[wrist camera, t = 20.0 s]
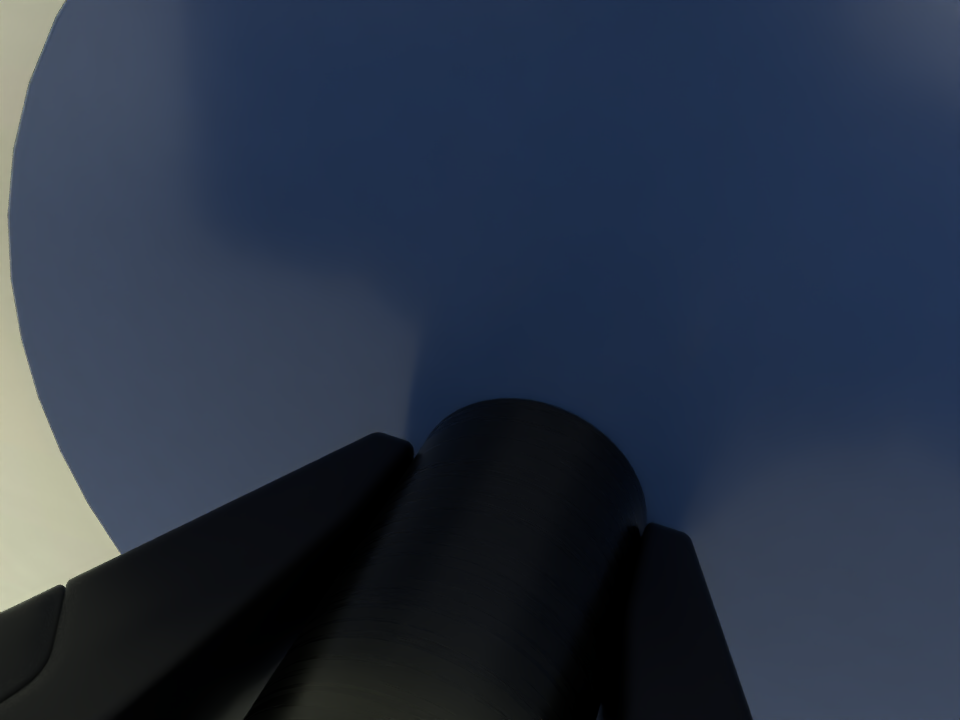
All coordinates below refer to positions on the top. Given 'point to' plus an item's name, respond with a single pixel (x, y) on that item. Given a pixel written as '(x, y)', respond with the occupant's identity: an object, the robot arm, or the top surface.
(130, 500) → the tin lid
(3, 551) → the top surface
